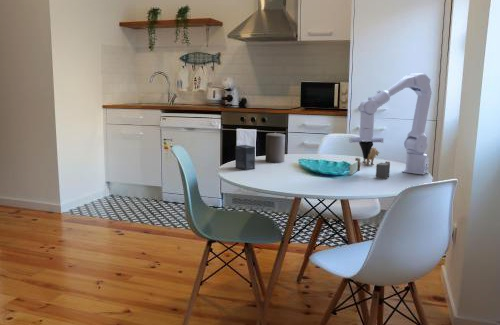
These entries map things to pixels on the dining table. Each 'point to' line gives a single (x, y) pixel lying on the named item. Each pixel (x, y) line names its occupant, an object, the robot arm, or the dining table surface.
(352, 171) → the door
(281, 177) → the dining table surface
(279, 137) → the pillar candle
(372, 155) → the lion figurine
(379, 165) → the block
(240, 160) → the box
